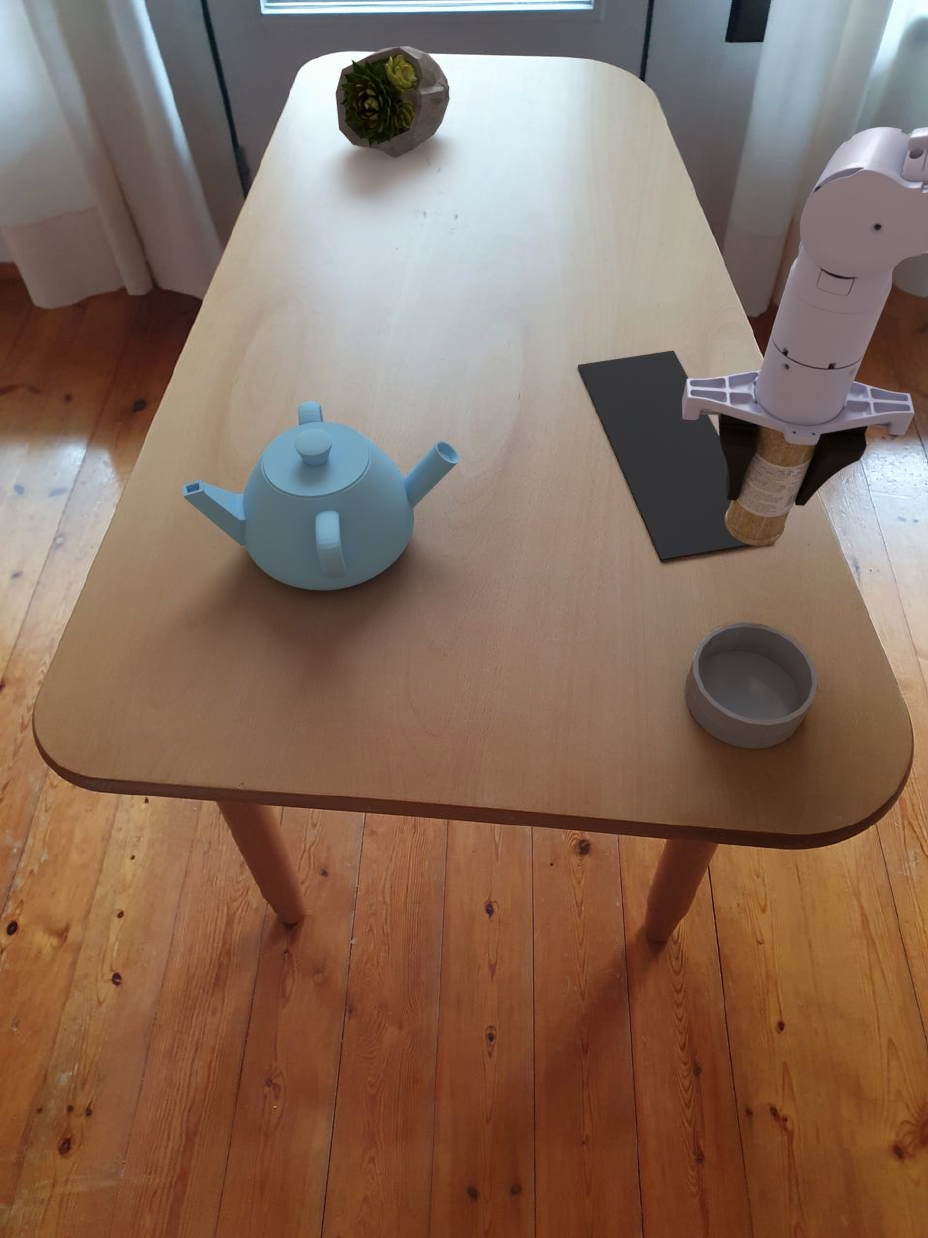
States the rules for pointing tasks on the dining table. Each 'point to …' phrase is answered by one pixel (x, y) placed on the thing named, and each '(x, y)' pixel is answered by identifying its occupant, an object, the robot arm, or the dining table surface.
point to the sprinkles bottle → (768, 488)
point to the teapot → (323, 504)
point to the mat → (664, 453)
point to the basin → (750, 685)
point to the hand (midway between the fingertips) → (764, 493)
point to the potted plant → (392, 100)
